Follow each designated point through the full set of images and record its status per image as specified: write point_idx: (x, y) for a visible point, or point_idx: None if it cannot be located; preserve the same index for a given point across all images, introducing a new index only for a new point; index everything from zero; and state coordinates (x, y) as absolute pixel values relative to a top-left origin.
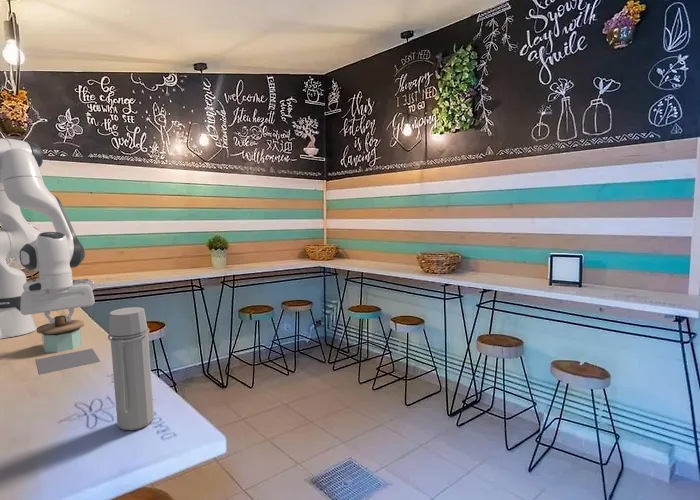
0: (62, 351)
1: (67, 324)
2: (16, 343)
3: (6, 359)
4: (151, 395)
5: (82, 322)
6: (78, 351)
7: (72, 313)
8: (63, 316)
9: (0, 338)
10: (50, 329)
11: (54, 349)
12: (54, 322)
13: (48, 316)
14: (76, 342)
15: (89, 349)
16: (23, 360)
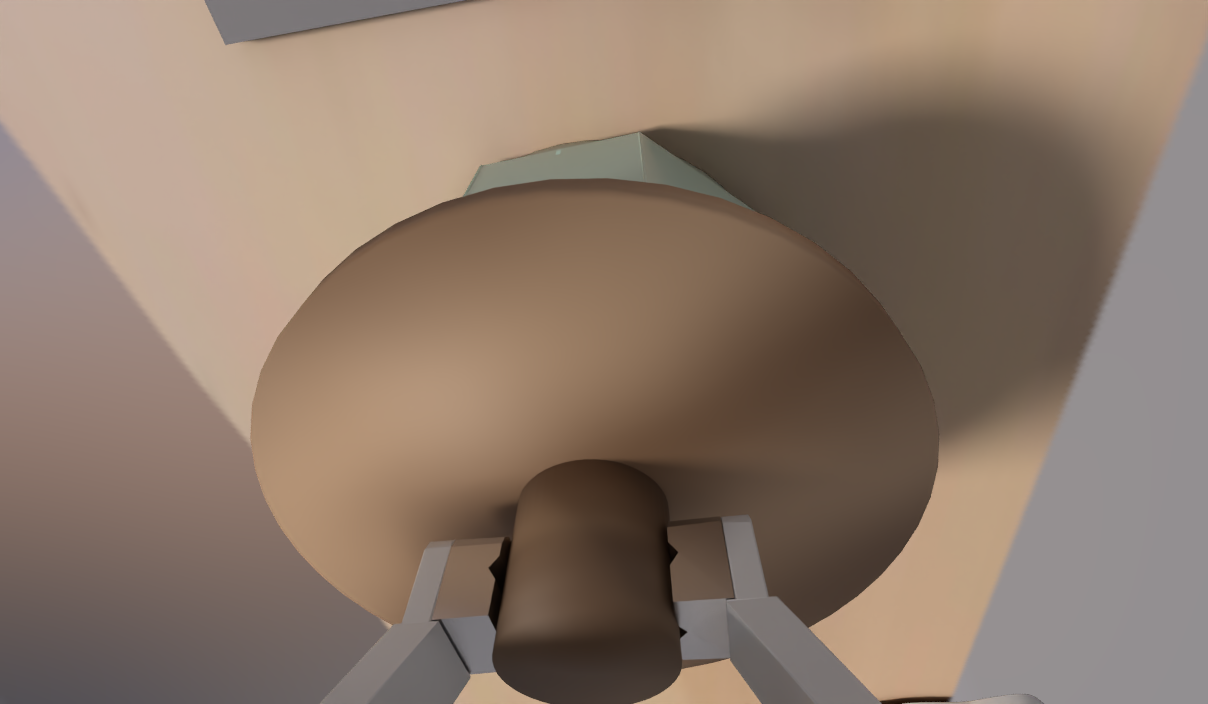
0: (589, 141)
1: (500, 516)
2: (922, 597)
3: (1124, 228)
4: None
5: (293, 517)
6: (383, 1)
7: (340, 689)
8: (520, 648)
9: (982, 700)
10: (743, 364)
11: (675, 165)
12: (679, 544)
13: (802, 674)
14: None
15: (250, 14)
16: (1007, 71)
